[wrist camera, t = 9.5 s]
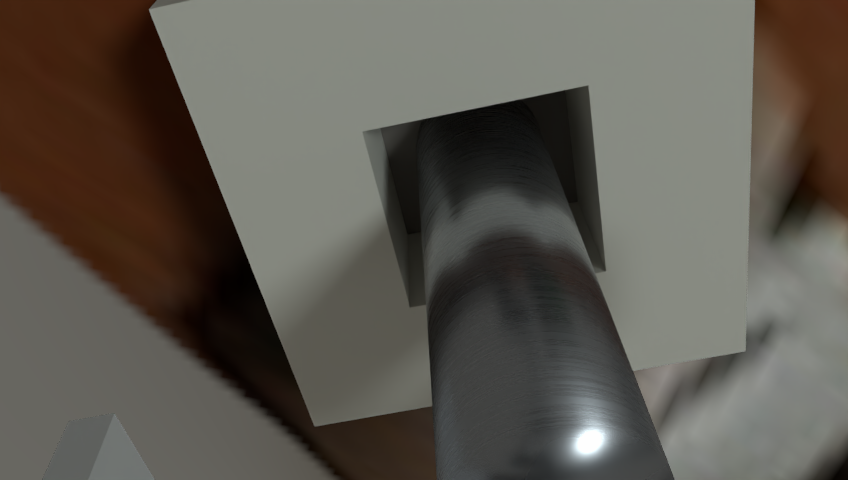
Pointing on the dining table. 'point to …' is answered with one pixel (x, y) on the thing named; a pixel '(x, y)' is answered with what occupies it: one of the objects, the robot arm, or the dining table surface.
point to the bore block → (454, 92)
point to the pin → (519, 315)
